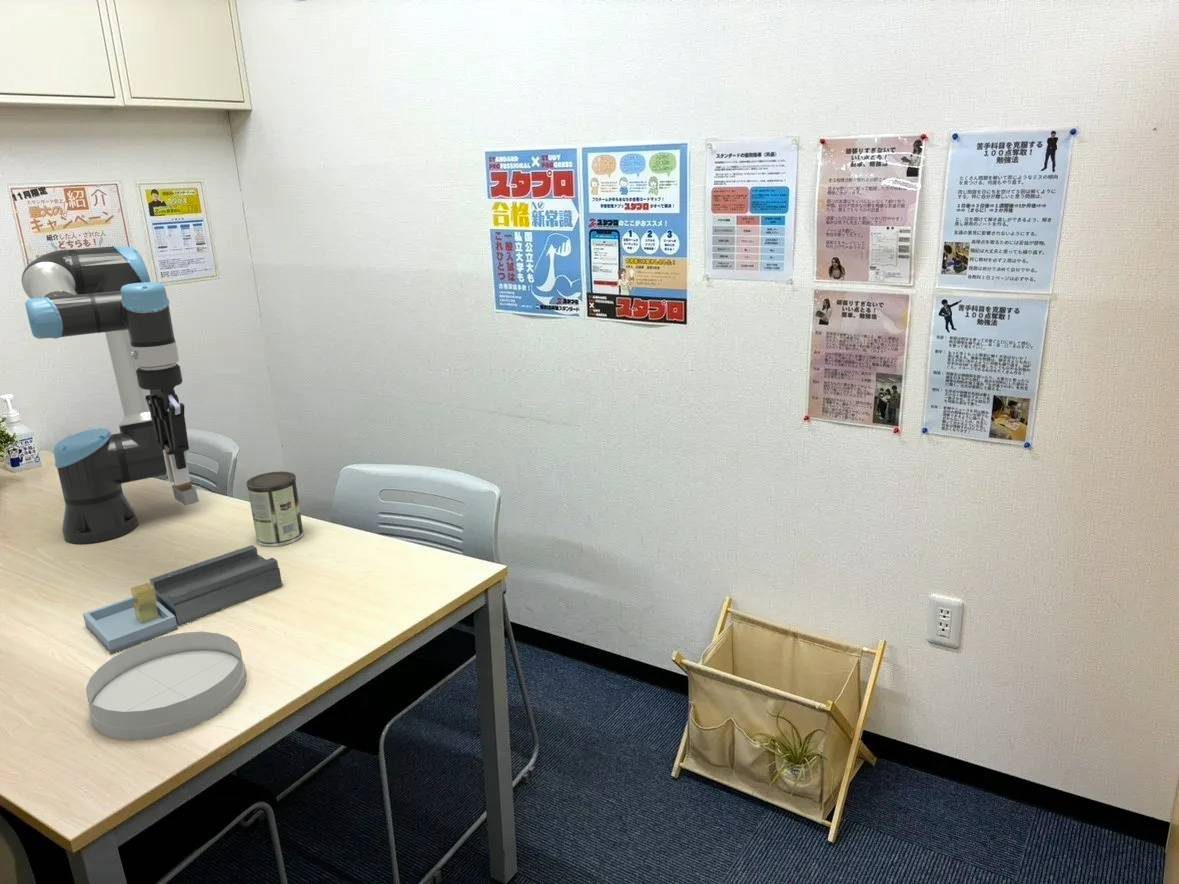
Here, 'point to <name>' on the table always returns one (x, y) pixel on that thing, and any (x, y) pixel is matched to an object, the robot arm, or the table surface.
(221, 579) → the slot bed
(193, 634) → the dish
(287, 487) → the coffee can
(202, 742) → the table surface
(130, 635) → the tray
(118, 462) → the robot arm
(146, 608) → the yellow wooden cube
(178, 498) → the hammer
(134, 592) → the yellow cube
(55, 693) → the table surface
